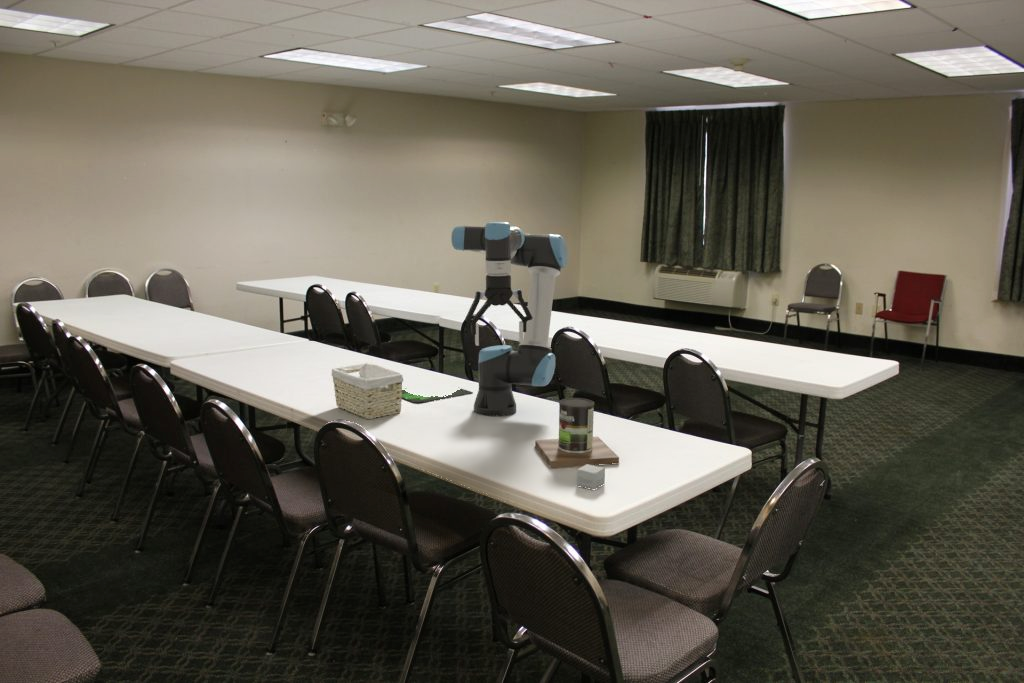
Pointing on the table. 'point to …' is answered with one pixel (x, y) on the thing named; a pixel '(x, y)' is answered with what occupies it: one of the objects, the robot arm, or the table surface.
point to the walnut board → (564, 459)
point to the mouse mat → (426, 399)
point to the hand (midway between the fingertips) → (499, 344)
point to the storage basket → (368, 390)
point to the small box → (590, 476)
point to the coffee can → (576, 425)
